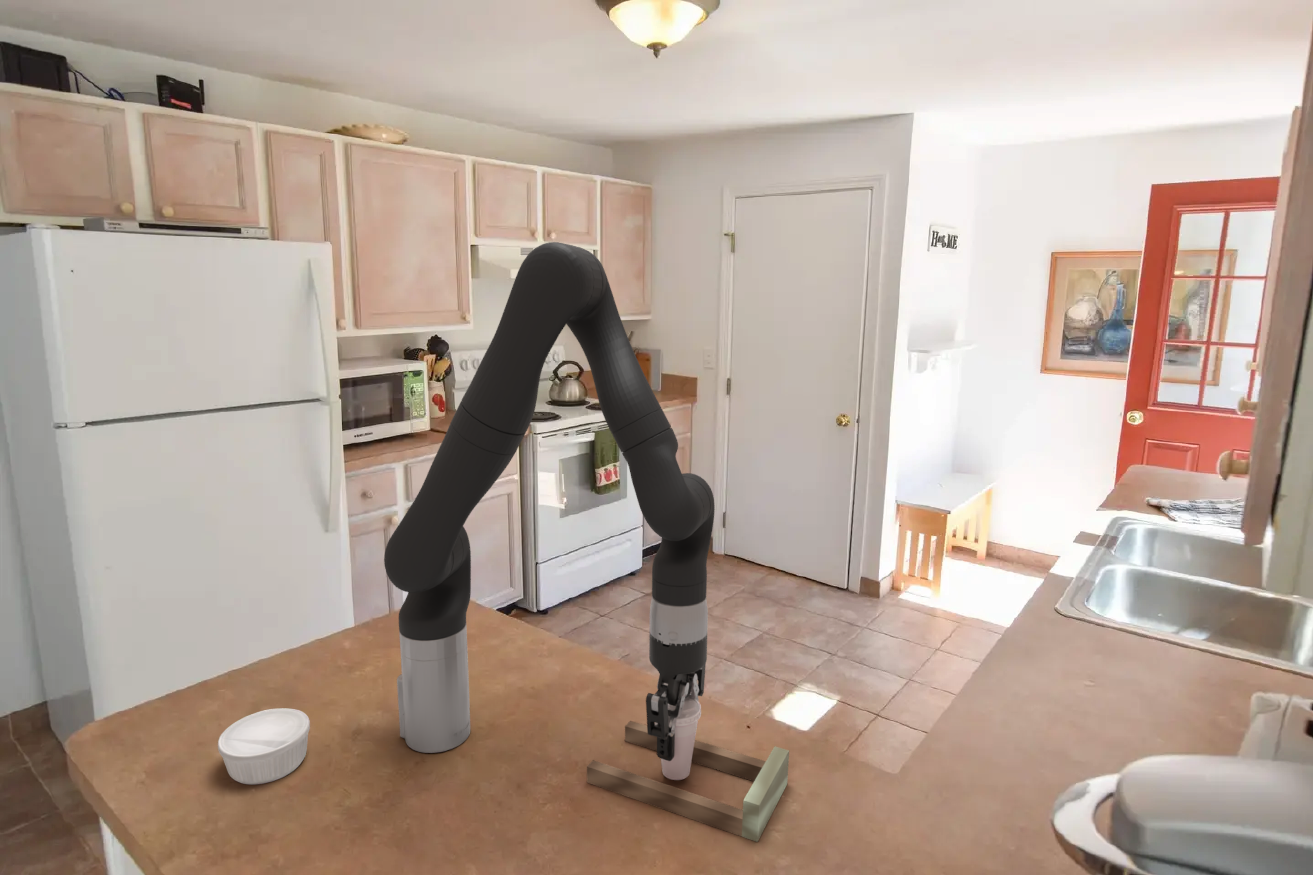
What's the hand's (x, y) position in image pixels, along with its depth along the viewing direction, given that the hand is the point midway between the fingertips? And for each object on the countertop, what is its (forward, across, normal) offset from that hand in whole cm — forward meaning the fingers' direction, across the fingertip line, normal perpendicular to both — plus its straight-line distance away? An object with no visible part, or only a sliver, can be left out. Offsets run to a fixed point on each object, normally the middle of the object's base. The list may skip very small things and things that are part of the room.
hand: (676, 743), depth 102 cm
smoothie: (+4, 0, 0) cm, 4 cm away
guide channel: (+5, 0, +2) cm, 6 cm away
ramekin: (+5, +23, -51) cm, 56 cm away
